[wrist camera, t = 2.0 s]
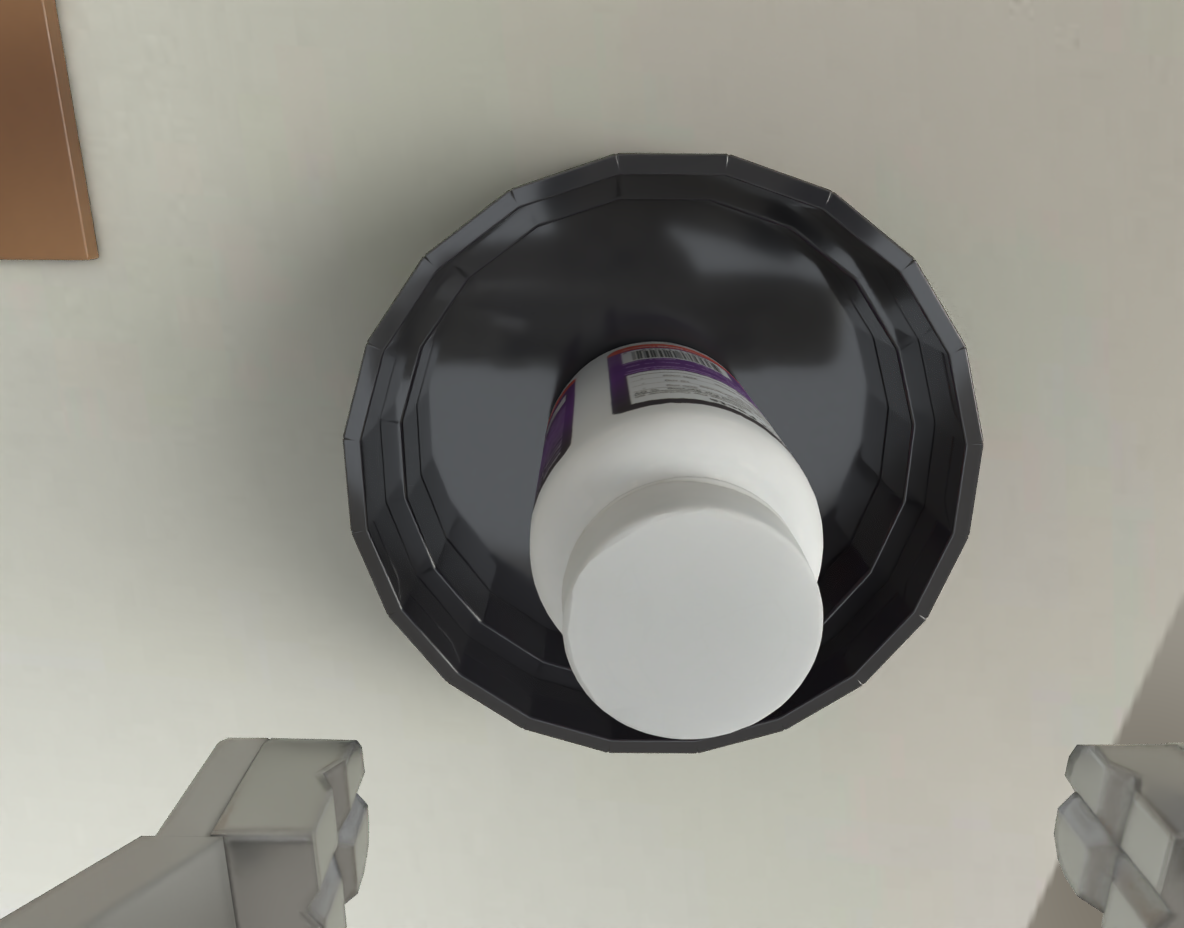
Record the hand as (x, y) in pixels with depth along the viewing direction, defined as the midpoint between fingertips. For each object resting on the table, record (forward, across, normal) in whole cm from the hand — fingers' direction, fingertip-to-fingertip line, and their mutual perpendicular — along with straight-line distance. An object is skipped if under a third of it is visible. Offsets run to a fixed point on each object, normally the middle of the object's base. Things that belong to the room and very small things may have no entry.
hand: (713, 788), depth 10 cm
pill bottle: (+13, 0, 0) cm, 13 cm away
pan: (+13, 0, 0) cm, 13 cm away
